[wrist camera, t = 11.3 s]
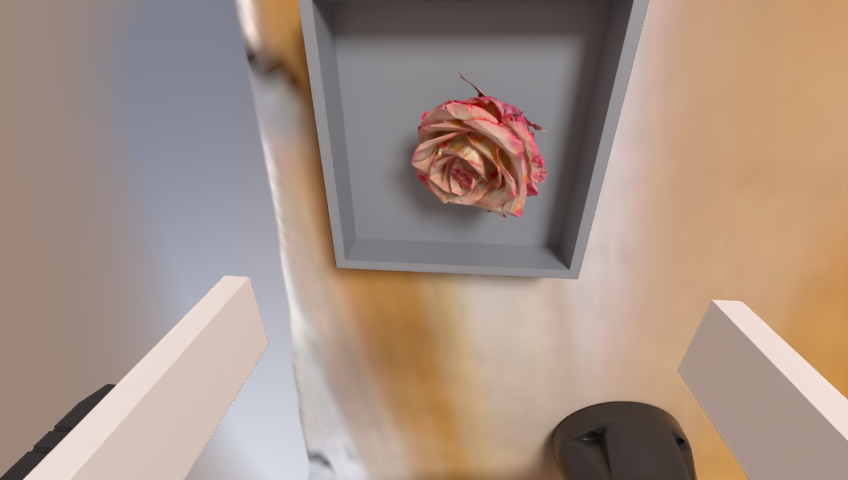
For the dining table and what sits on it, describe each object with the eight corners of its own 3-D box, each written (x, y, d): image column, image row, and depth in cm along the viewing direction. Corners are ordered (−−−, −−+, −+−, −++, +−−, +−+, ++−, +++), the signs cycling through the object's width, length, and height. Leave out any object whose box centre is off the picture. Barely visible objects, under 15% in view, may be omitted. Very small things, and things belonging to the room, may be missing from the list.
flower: (490, 22, 22) (421, 86, 19) (603, 117, 23) (558, 198, 19) (434, 122, 31) (379, 180, 27) (517, 190, 31) (474, 256, 27)
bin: (622, -14, 23) (655, -25, 19) (563, 249, 33) (578, 279, 29) (321, -11, 24) (295, -20, 20) (351, 241, 34) (336, 267, 30)
